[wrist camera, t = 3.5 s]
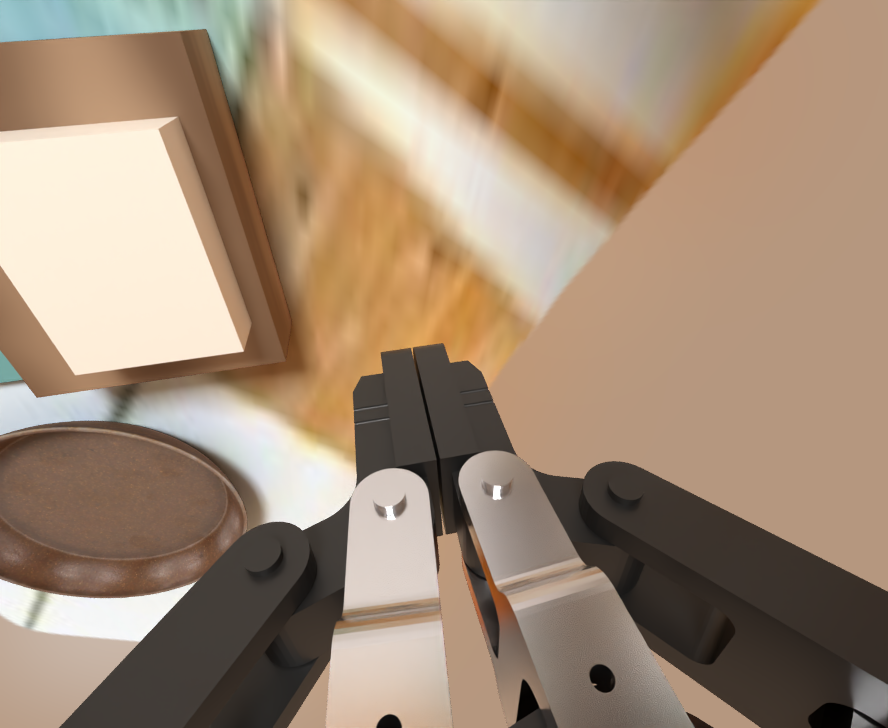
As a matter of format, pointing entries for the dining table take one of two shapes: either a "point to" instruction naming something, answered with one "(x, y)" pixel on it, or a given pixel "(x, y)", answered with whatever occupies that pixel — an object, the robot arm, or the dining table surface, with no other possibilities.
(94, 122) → the bronze rectangular block
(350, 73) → the dining table surface
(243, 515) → the plant saucer
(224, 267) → the white block
